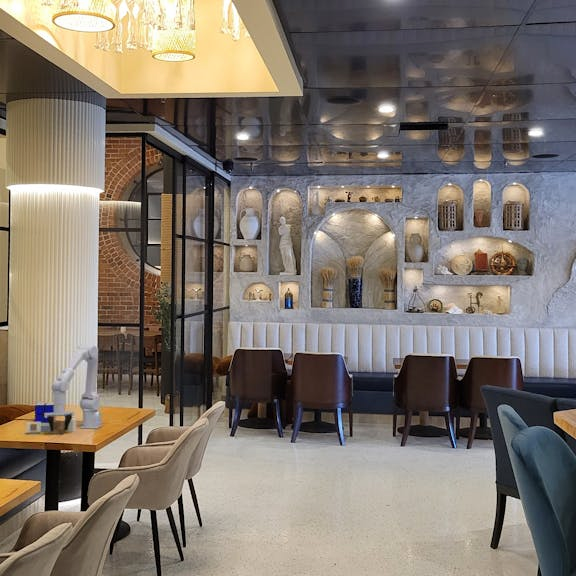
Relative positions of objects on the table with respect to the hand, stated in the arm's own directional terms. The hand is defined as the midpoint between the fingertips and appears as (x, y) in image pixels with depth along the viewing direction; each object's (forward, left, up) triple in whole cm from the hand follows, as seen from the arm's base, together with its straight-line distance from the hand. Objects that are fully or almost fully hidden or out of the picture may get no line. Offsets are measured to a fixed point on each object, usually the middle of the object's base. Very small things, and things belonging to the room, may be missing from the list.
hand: (59, 430), depth 377 cm
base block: (+10, -8, -2) cm, 13 cm away
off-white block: (-2, -10, -2) cm, 10 cm away
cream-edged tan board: (+13, +1, -2) cm, 13 cm away
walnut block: (0, 0, -2) cm, 2 cm away
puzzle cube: (+21, -34, -2) cm, 40 cm away
